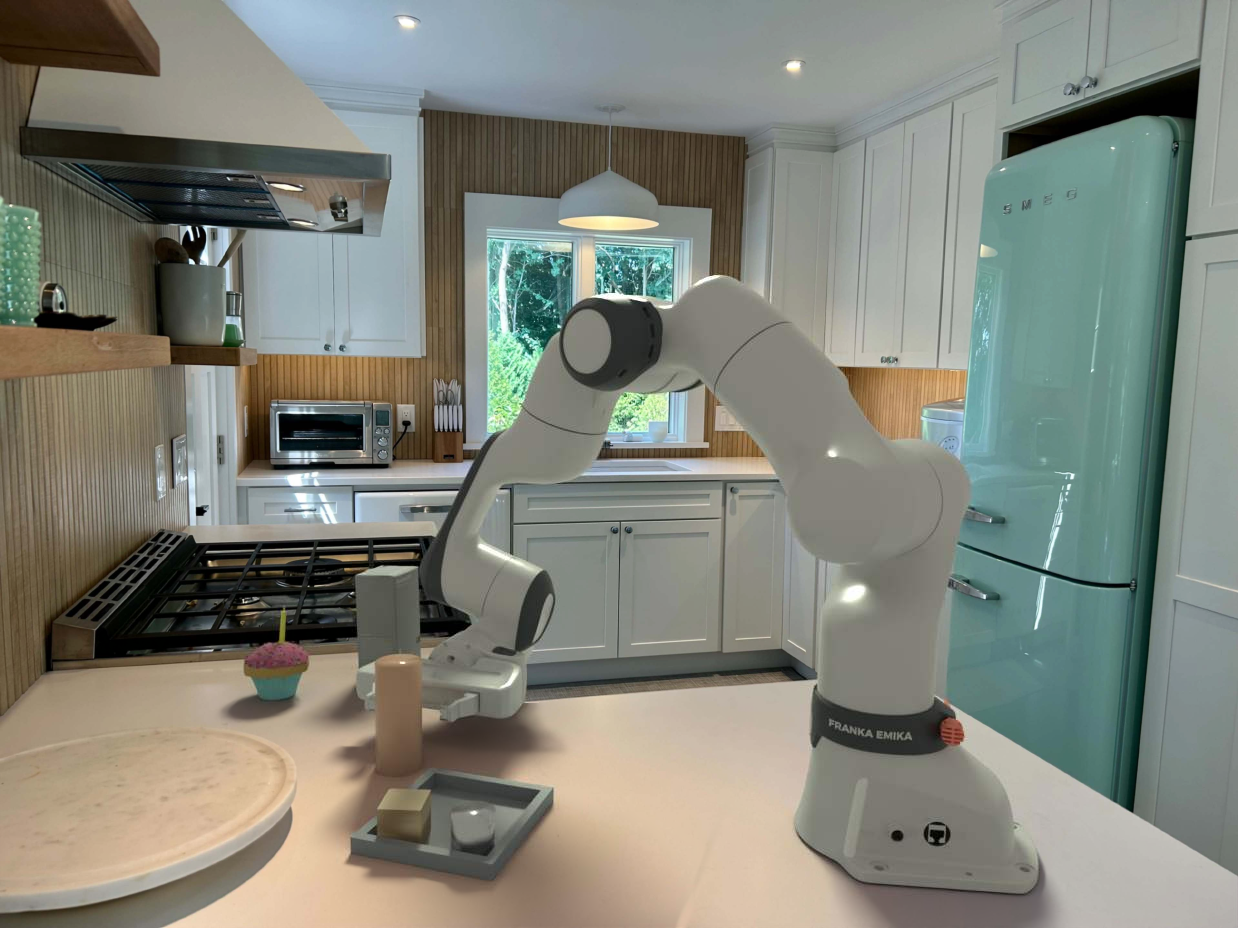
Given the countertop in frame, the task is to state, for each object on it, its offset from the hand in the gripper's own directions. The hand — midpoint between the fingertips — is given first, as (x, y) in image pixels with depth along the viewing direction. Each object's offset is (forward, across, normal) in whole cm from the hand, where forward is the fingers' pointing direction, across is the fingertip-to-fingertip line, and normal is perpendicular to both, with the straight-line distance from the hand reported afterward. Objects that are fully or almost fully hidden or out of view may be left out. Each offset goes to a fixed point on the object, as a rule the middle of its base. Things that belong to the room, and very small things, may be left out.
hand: (407, 709), depth 99 cm
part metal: (+15, +15, +6) cm, 22 cm away
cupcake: (-14, -28, +7) cm, 32 cm away
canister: (+2, 0, +7) cm, 7 cm away
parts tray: (+11, +12, +7) cm, 18 cm away
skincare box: (-26, -18, +7) cm, 33 cm away
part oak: (+15, +8, +6) cm, 18 cm away
